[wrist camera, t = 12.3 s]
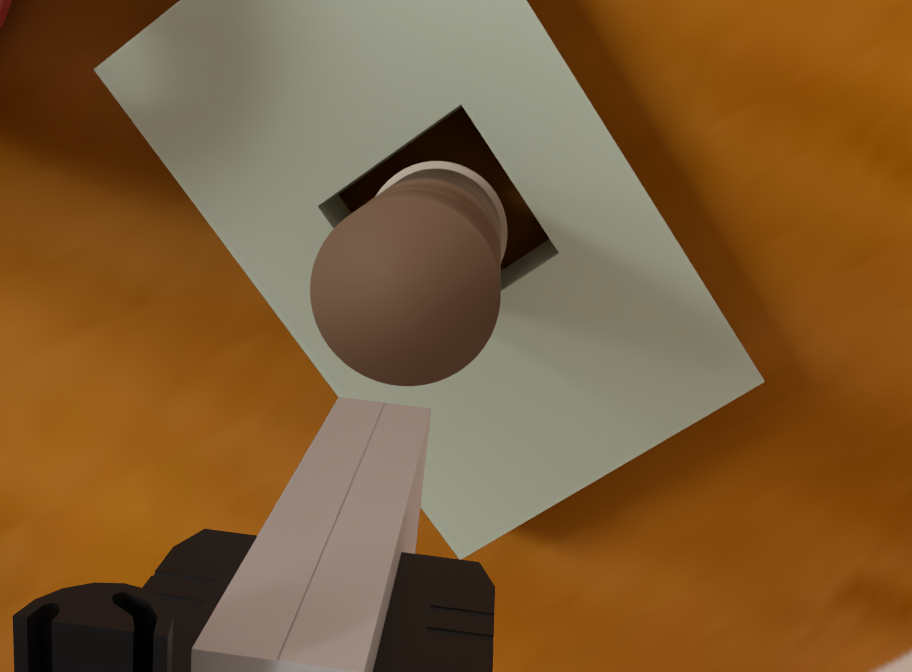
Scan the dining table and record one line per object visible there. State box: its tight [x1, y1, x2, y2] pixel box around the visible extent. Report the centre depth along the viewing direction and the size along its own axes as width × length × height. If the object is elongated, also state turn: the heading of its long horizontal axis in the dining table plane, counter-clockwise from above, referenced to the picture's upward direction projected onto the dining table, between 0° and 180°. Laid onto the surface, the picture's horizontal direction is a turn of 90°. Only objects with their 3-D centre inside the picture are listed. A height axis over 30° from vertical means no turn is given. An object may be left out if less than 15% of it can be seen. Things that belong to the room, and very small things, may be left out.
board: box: [94, 0, 765, 560], centre depth 29 cm, size 20×12×4 cm, turn 34°
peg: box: [310, 161, 507, 386], centre depth 24 cm, size 4×4×13 cm
